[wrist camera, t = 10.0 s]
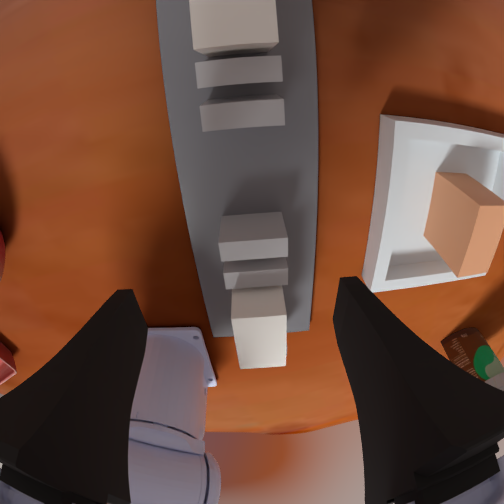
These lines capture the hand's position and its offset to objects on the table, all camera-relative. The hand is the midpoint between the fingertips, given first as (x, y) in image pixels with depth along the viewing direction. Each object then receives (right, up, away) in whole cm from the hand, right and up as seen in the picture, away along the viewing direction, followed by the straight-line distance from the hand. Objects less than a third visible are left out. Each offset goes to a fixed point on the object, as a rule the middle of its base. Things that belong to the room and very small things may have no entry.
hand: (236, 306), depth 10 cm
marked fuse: (+14, +5, +8) cm, 17 cm away
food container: (+28, -9, +19) cm, 35 cm away
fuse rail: (0, +7, +7) cm, 10 cm away
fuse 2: (+1, -1, +11) cm, 11 cm away
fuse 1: (0, +14, +1) cm, 14 cm away
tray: (+14, +6, +8) cm, 17 cm away
